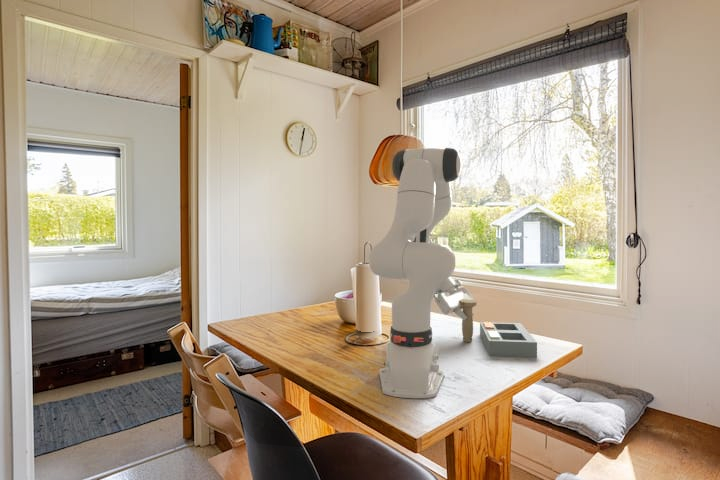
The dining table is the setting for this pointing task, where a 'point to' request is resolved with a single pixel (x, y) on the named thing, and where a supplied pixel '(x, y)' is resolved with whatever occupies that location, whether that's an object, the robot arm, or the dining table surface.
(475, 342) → the dining table surface
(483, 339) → the socket board
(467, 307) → the handle
